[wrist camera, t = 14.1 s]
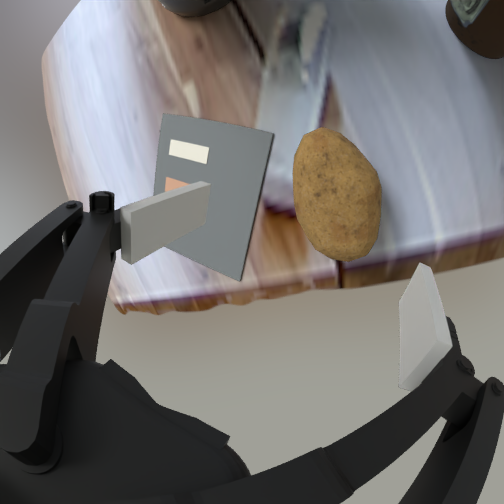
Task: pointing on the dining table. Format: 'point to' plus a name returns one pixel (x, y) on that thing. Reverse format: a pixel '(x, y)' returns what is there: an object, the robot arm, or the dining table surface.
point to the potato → (336, 195)
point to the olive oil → (478, 25)
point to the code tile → (214, 185)
